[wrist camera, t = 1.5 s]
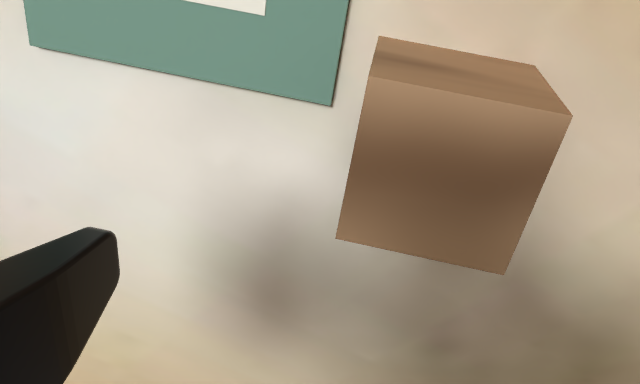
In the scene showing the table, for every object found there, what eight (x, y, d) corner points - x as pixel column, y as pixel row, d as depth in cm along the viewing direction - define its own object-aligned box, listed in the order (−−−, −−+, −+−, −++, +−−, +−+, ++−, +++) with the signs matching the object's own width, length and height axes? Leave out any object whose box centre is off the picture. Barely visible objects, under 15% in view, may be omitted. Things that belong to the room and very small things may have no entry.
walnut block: (484, 197, 20) (504, 275, 16) (351, 169, 21) (335, 238, 17) (534, 64, 18) (573, 115, 13) (378, 35, 18) (368, 75, 14)
